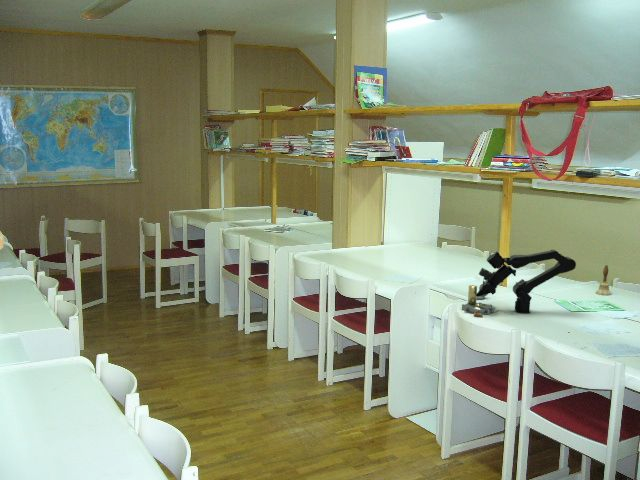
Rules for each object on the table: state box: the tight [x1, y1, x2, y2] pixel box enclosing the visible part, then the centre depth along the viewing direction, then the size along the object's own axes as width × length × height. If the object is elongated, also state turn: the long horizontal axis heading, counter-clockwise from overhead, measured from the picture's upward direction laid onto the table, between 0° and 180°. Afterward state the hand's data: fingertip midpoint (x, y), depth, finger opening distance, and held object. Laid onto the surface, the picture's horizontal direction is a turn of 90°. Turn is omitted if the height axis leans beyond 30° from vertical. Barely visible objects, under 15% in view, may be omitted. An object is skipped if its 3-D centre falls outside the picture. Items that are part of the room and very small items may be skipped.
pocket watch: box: [476, 280, 489, 300], centre depth 355 cm, size 8×8×10 cm
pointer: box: [473, 313, 484, 319], centre depth 320 cm, size 4×3×1 cm
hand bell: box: [595, 264, 612, 296], centre depth 369 cm, size 8×8×16 cm
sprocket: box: [461, 285, 496, 315], centre depth 329 cm, size 16×16×11 cm
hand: (476, 295), depth 333 cm, fingers closed, pressing on sprocket
